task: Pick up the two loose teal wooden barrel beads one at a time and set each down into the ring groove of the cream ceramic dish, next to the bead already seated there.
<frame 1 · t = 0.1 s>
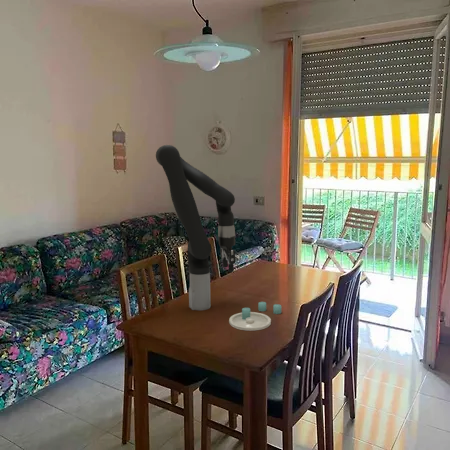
hand: (228, 269, 195), 17 cm above the table, tool pointing down, fingers open, 8 cm apart
bead a: (262, 311, 190), on the table
bead b: (277, 314, 186), on the table
bead c: (246, 318, 180), point 1 cm above the table, touching groove dish
groove dish: (250, 323, 176), on the table
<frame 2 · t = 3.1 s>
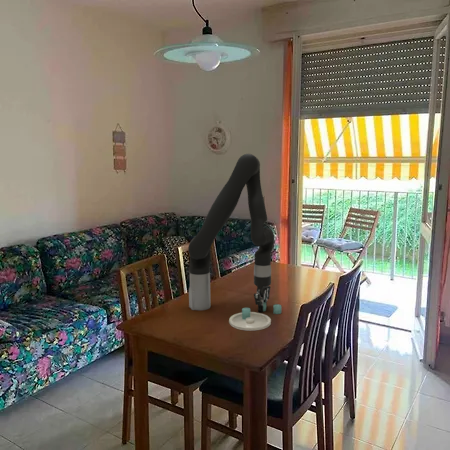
hand: (262, 311, 189), 0 cm above the table, tool pointing down, fingers closed on bead a, 3 cm apart
bead a: (262, 311, 189), on the table, touching gripper
everything else where it was.
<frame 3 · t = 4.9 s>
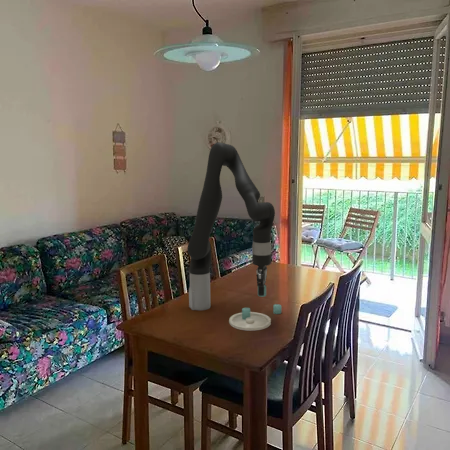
hand: (261, 293, 173), 13 cm above the table, tool pointing down, fingers closed on bead a, 3 cm apart
bead a: (261, 295, 173), point 13 cm above the table, touching gripper
everything else where it was.
when the fingers open (2 cm above the table, at t = 7.2 s): bead a stays where it is, resting on groove dish.
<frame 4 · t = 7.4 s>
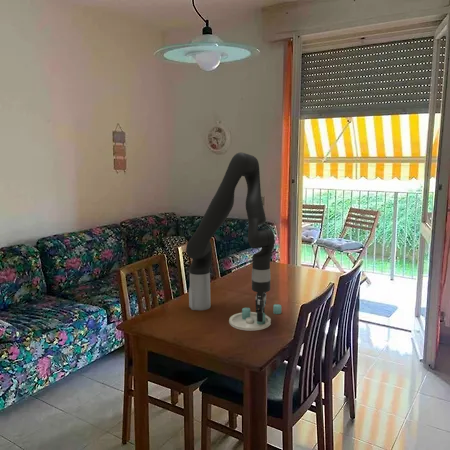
hand: (260, 318, 175), 3 cm above the table, tool pointing down, fingers open, 5 cm apart
bead a: (261, 322, 175), point 1 cm above the table, touching groove dish
everything else where it was.
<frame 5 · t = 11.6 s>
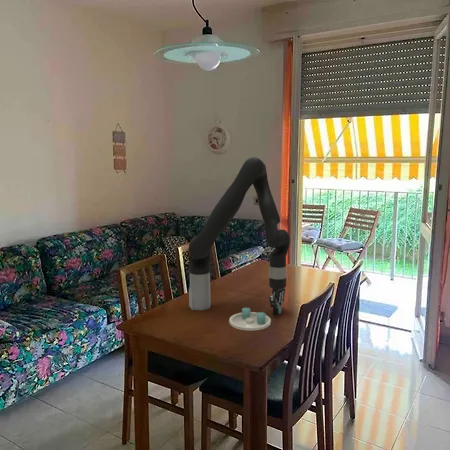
hand: (277, 313, 186), 0 cm above the table, tool pointing down, fingers closed on bead b, 3 cm apart
bead b: (277, 314, 186), on the table, touching gripper
everything else where it was.
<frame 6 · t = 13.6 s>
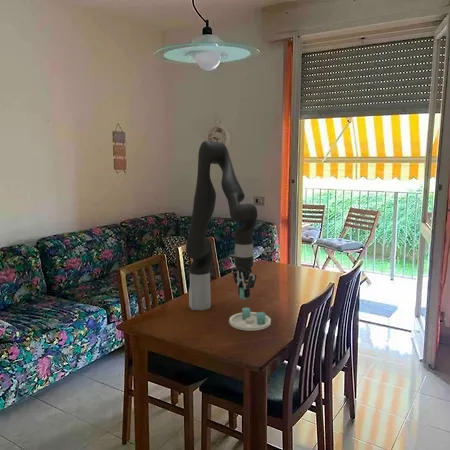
hand: (243, 295, 171), 13 cm above the table, tool pointing down, fingers closed on bead b, 3 cm apart
bead b: (244, 297, 171), point 12 cm above the table, touching gripper
everything else where it was.
when the fingers open (2 cm above the table, at t = 15.9 s): bead b stays where it is, resting on groove dish.
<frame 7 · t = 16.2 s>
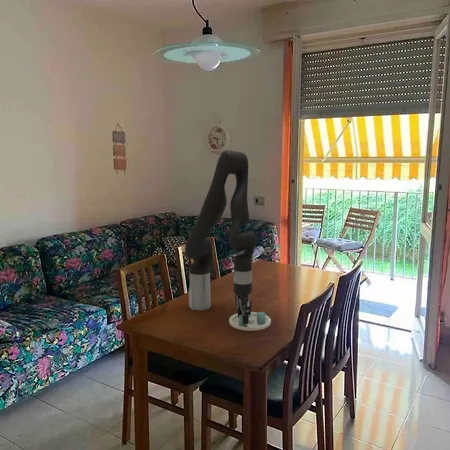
hand: (242, 320, 172), 3 cm above the table, tool pointing down, fingers open, 5 cm apart
bead b: (243, 325, 173), point 1 cm above the table, touching groove dish
everything else where it was.
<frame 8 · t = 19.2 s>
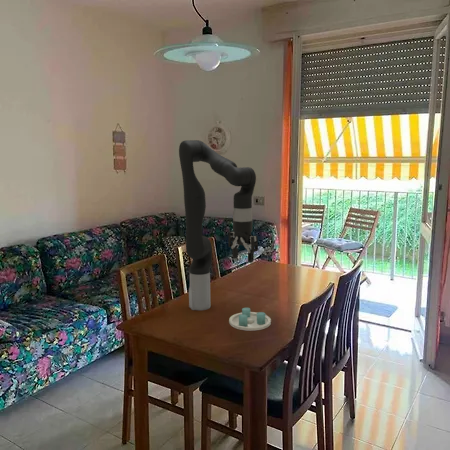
hand: (242, 259, 168), 28 cm above the table, tool pointing down, fingers open, 8 cm apart
nothing on the table moved.
at the end: bead a 0.1 cm from the target spot, point 0.8 cm above the table; bead b 0.1 cm from the target spot, point 0.8 cm above the table; bead c moved 0.1 cm from its start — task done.
